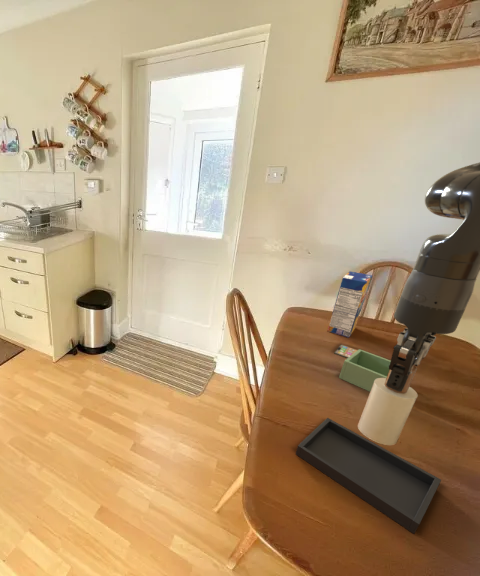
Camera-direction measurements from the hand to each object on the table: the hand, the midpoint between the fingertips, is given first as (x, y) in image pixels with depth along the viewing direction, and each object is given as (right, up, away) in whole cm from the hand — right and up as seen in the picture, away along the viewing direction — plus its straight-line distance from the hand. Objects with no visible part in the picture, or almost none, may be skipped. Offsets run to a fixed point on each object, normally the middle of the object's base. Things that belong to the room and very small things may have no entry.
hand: (397, 384), depth 58 cm
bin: (+24, -10, +34) cm, 43 cm away
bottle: (0, -11, +4) cm, 12 cm away
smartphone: (+32, -6, +45) cm, 56 cm away
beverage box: (+40, +1, +64) cm, 76 cm away
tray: (0, -21, +8) cm, 22 cm away
